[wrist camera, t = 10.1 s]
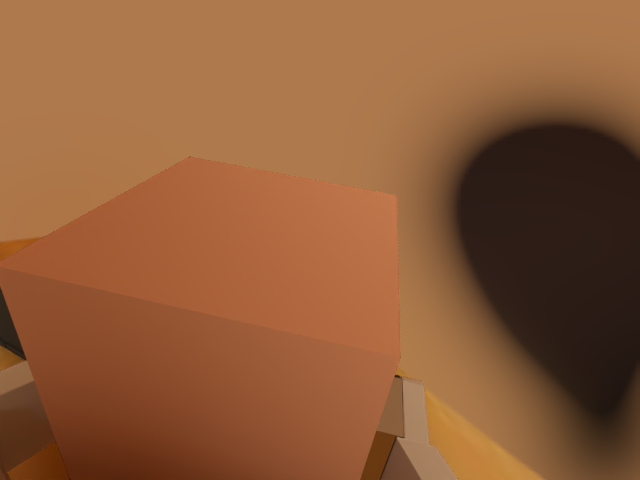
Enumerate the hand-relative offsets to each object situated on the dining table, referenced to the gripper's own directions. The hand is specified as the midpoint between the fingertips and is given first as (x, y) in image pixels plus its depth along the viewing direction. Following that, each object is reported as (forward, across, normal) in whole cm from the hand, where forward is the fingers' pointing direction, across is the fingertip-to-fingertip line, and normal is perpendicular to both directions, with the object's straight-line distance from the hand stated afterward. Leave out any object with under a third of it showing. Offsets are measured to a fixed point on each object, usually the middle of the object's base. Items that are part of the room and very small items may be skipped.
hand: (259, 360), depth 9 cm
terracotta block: (-1, 0, +6) cm, 6 cm away
